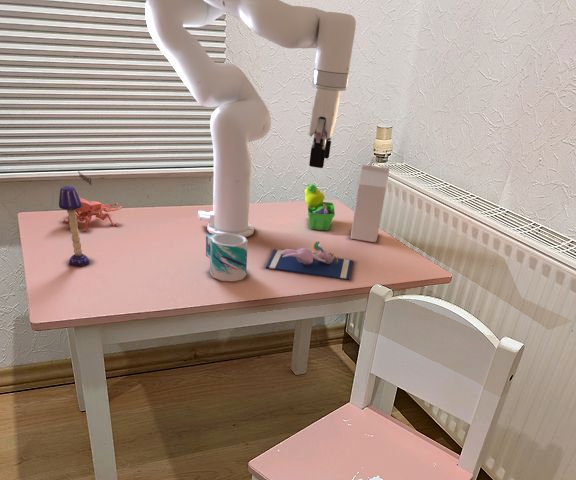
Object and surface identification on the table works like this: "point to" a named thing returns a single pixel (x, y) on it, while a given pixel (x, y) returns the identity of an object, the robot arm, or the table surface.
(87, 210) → the beetle
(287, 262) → the cloth
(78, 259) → the toy lamp
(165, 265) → the table surface
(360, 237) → the milk carton
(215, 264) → the mug
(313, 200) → the fruit basket
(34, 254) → the table surface
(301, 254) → the rabbit figure
